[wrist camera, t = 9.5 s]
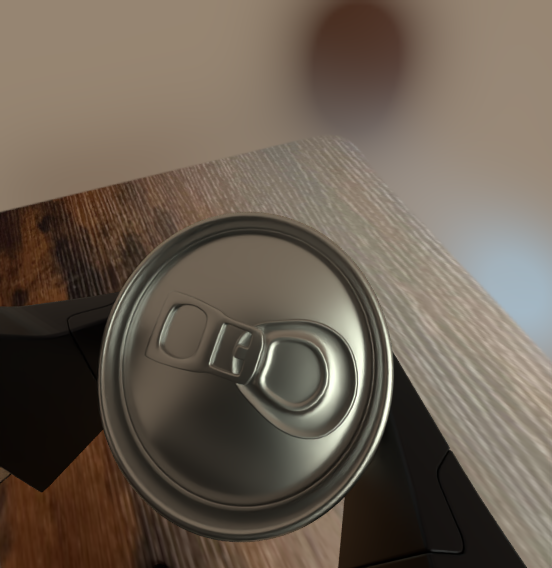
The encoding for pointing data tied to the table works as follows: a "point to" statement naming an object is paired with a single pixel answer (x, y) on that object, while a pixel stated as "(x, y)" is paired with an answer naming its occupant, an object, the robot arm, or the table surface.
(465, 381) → the table surface
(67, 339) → the robot arm
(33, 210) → the table surface
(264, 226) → the can
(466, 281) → the table surface
